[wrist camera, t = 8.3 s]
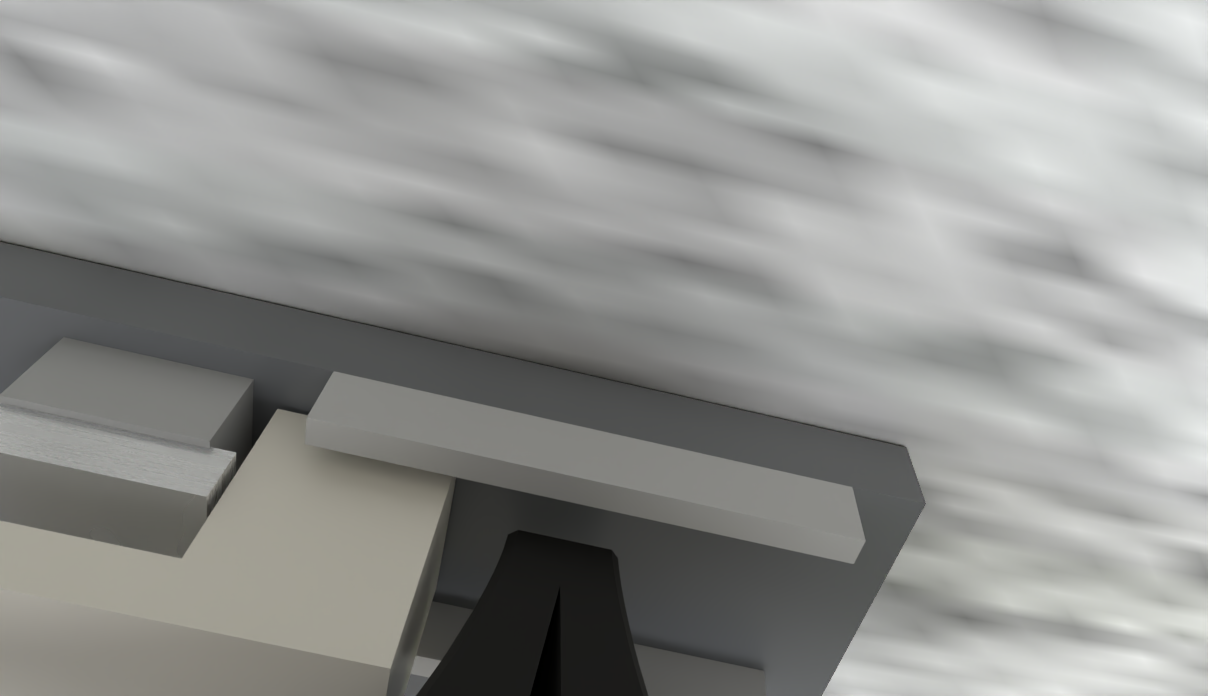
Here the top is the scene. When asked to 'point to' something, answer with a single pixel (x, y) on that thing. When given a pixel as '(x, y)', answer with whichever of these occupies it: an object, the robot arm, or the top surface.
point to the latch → (238, 587)
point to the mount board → (501, 462)
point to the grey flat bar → (107, 481)
